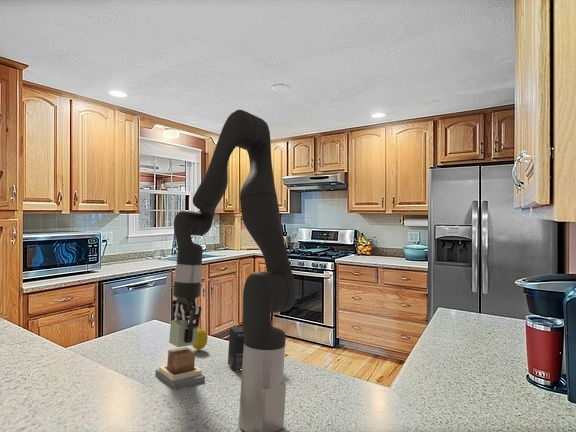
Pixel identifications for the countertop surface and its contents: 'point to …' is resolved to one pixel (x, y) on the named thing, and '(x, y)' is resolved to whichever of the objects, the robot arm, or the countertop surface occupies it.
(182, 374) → the base board
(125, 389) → the countertop surface
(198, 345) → the lemon
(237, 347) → the small box
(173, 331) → the sage block
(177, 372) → the walnut block
